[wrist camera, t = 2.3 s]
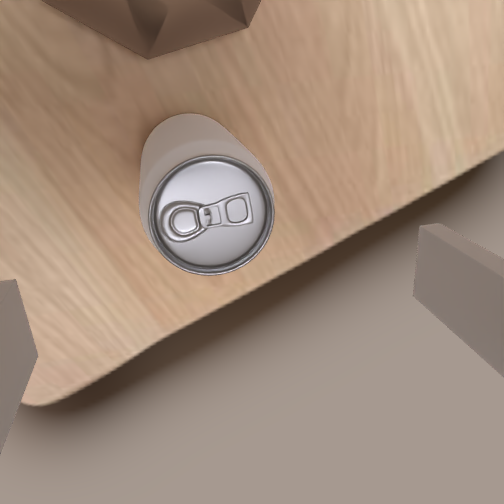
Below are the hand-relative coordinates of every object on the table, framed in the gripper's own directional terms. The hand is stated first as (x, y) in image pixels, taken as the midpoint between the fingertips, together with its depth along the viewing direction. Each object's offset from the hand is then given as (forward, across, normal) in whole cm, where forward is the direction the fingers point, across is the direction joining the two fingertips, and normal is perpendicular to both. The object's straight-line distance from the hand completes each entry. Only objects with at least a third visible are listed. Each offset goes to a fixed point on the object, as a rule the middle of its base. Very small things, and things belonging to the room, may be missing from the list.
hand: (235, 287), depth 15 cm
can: (+18, 0, +1) cm, 18 cm away
